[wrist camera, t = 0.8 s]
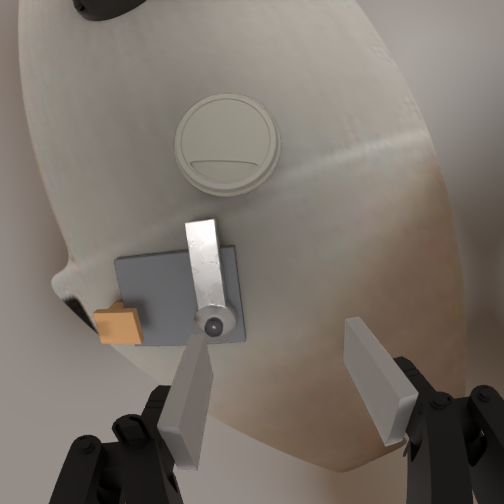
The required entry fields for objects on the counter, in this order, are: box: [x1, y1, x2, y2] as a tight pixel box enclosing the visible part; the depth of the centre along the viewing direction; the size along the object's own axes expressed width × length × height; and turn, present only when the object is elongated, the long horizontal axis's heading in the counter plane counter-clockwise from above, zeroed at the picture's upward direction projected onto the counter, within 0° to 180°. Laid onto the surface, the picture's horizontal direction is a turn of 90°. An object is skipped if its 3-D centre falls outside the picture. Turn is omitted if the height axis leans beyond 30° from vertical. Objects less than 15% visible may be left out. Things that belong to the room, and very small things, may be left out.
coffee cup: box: [174, 93, 281, 197], centre depth 25 cm, size 8×8×12 cm
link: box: [185, 218, 237, 343], centre depth 31 cm, size 14×5×3 cm, turn 6°
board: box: [114, 245, 246, 346], centre depth 34 cm, size 12×15×2 cm
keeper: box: [93, 302, 144, 344], centre depth 32 cm, size 4×6×6 cm
